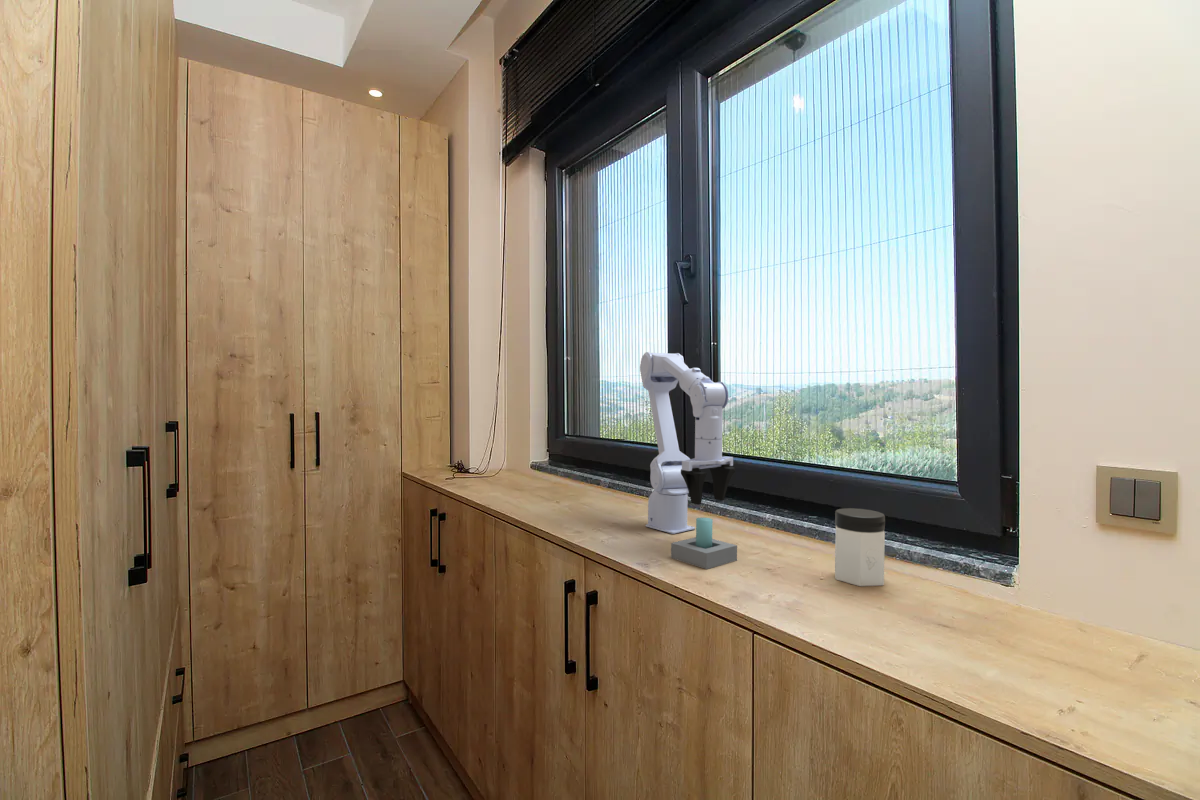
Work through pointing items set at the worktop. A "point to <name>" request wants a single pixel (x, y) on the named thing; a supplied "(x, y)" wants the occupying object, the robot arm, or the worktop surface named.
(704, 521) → the peg
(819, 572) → the worktop surface
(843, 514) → the jar
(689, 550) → the socket block
